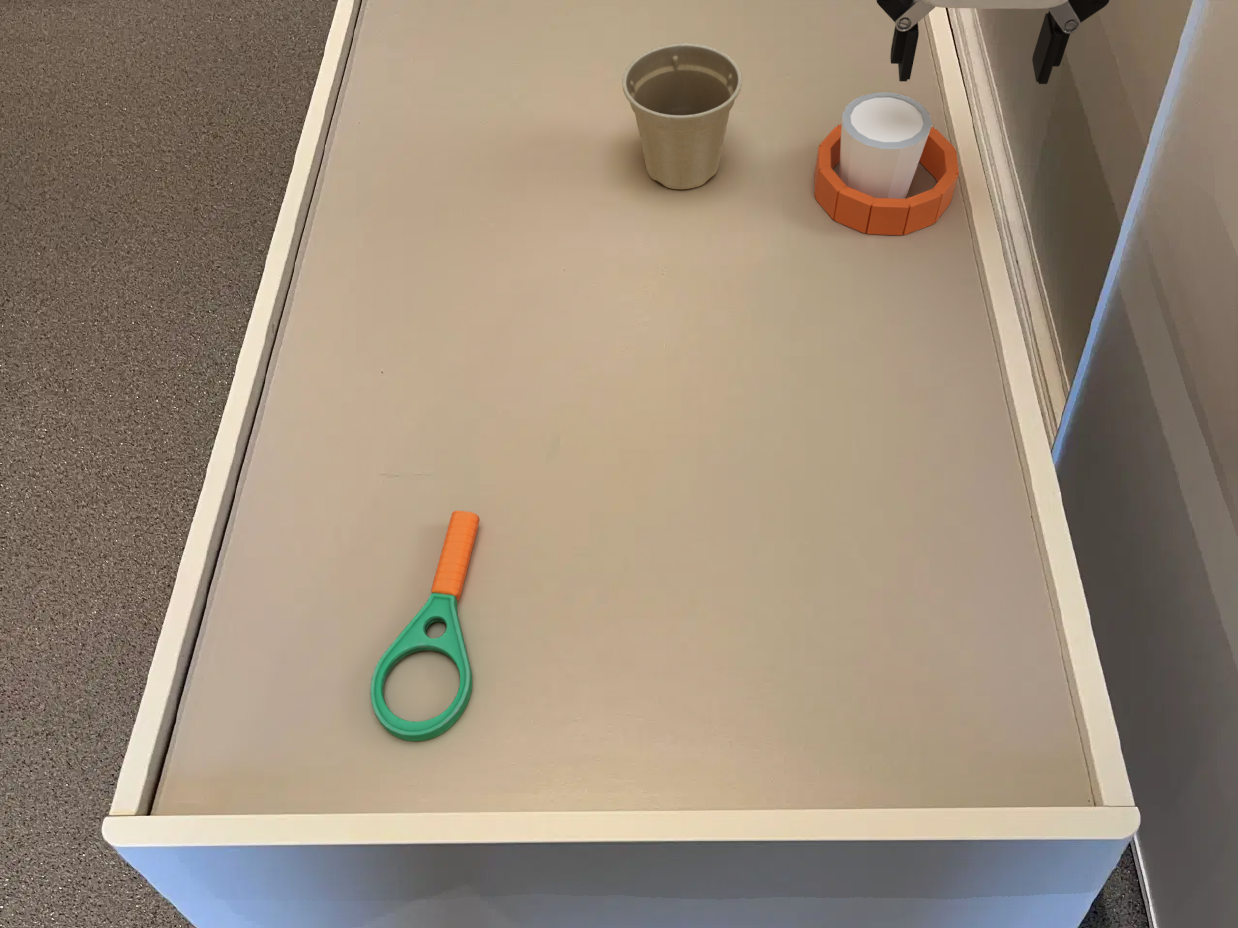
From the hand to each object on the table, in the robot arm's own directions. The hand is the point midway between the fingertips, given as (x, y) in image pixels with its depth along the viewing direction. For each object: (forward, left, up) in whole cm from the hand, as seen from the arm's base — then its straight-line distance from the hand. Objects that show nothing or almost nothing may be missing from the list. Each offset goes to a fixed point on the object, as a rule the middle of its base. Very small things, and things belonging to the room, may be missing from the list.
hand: (970, 71), depth 77 cm
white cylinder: (+5, 0, -12) cm, 13 cm away
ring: (+5, 0, -12) cm, 12 cm away
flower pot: (+21, -2, -12) cm, 24 cm away
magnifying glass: (+33, +42, -12) cm, 55 cm away
